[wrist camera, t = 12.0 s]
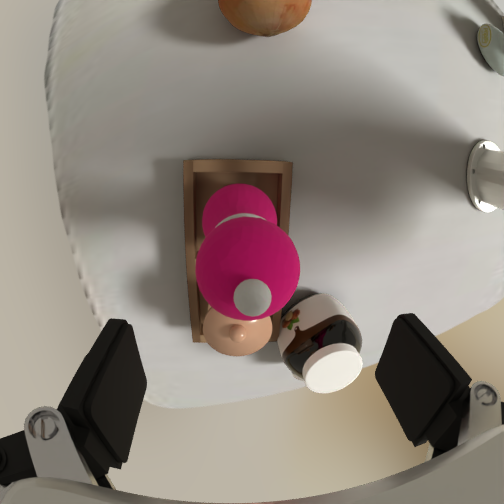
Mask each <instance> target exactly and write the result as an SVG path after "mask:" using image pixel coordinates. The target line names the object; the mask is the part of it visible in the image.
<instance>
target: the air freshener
mask: <svg viewBox="0 0 504 504" xmlns="http://www.w3.org/2000/svg"><path fill="white" fill-rule="evenodd" d="M477 40H478V45H479V48H480V50H481V53H482V55H483V57H484V58H485V60H486V61H487V63H488V64H489V65H490V67H491V68H492V69H493V70H494V71H495V72H497V73H498V74H500V75H502V76H504V33H502V32H501V31H500V30H499V29H498V28H496V27H495V26H493V25H490V24H483V25H482V26H481V27H480V28H479V31H478V34H477Z"/></svg>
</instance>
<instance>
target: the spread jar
mask: <svg viewBox="0 0 504 504" xmlns="http://www.w3.org/2000/svg"><path fill="white" fill-rule="evenodd" d="M277 342H278V347H279V351H280V354H281V357H282V359H283V361H284V363H285V364H286V366H287V367H288V368H289V370H290V371H291V372H292V374H293V376H294V378H296V379H298V380H303V381H305V384H306V386H307V387H308V388H309V389H310V390H311V391H313V392H317V393H330V392H334V391H337V390H340V389H342V388H344V387H346V386H347V385H349V384H350V383H351V382H353V381H354V380H355V378H356V377H357V376H358V375H359V373H360V371H361V369H362V363H363V362H362V358H361V357H360V355H359V353H360V350H361V347H362V337H361V333H360V330H359V328H358V326H357V324H356V323H355V321H354V319H353V318H352V316H351V315H350V314H349V312H348V311H347V309H346V308H345V307H344V306H343V305H342V304H341V303H340V302H339V301H338V300H337V299H336V298H334V297H332V296H331V295H329V294H322V293H320V294H314V295H310V296H307V297H305V298H303V299H301V300H299V301H297V302H296V303H295V304H293V305H292V306H291V307H290V308H289V309H288V310H287V312H286V313H285V314H284V316H283V317H282V319H281V322H280V331H279V337H278V340H277Z"/></svg>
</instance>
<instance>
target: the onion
mask: <svg viewBox="0 0 504 504" xmlns="http://www.w3.org/2000/svg"><path fill="white" fill-rule="evenodd" d="M311 2H312V0H218V3H219V7H220V9H221V11H222V13H223V15H224V16H225V17H226V18H227V20H228V21H229V22H230V23H231V24H232V25H233V26H234V27H235V28H237V29H239V30H241V31H243V32H246V33H249V34H253V35H259V36H265V37H270V36H275V35H278V34H280V33H283V32H286V31H288V30H290V29H292V28H294V27H296V26H297V25H298V24H300V23H301V22H302V21H303V20H304V18H305V17H306V15H307V14H308V12H309V10H310V6H311Z"/></svg>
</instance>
